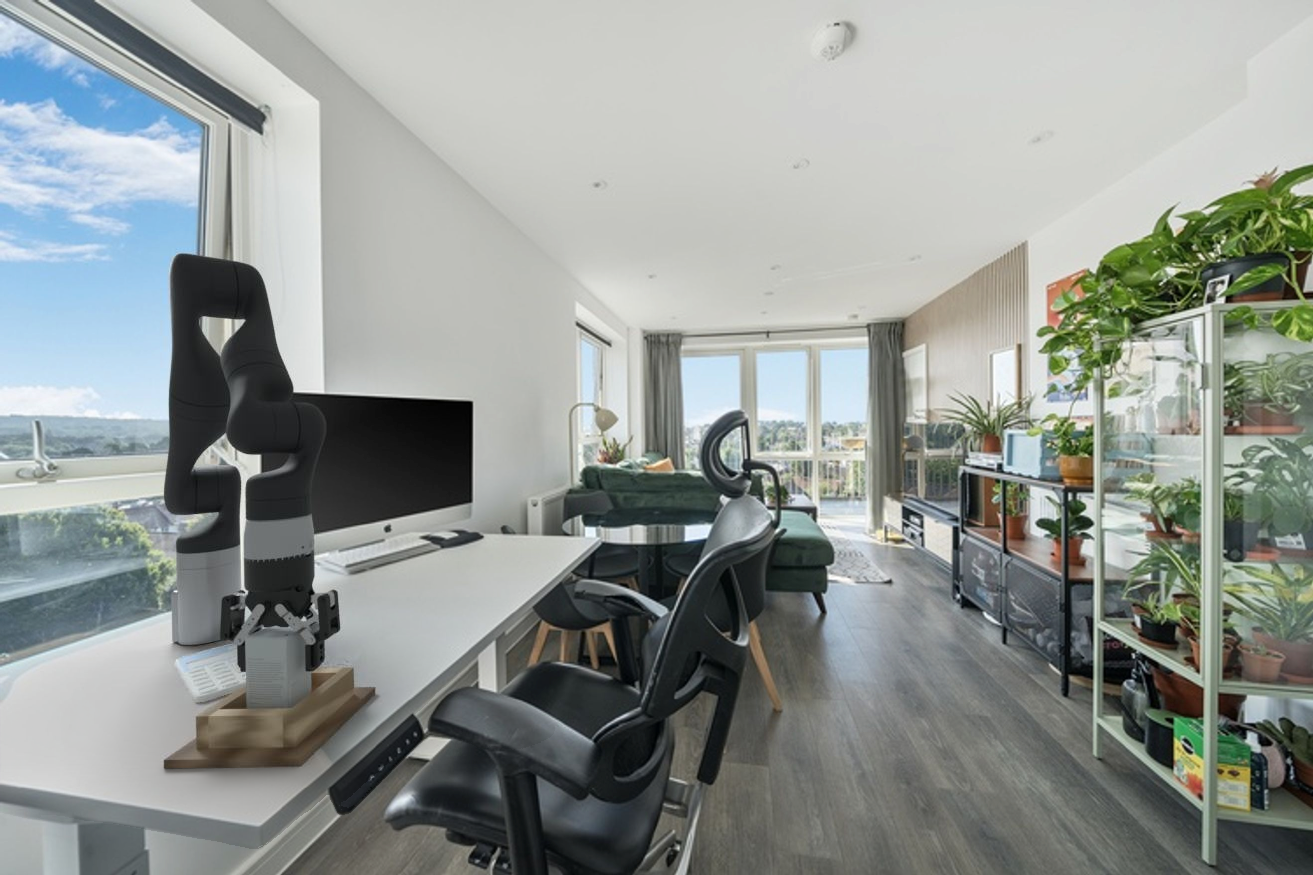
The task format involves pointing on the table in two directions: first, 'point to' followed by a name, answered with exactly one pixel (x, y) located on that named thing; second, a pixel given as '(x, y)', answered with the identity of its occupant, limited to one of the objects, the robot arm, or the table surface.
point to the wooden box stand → (272, 726)
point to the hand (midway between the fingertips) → (281, 669)
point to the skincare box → (275, 669)
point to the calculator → (211, 672)
